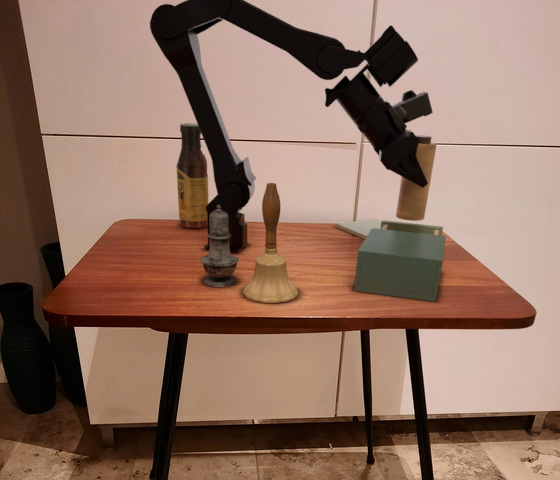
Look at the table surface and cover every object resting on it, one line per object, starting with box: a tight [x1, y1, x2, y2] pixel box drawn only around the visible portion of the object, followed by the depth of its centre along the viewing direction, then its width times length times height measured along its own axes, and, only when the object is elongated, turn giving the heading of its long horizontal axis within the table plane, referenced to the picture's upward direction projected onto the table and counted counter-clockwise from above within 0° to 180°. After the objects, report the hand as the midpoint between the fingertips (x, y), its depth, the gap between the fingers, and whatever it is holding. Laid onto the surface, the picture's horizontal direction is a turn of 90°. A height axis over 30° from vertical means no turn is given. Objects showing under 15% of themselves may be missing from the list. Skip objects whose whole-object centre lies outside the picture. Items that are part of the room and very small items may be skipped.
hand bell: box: [242, 182, 299, 304], centre depth 79 cm, size 8×8×16 cm
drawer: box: [381, 220, 444, 236], centre depth 99 cm, size 17×11×5 cm, turn 163°
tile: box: [335, 218, 382, 240], centre depth 117 cm, size 11×11×1 cm
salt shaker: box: [200, 204, 239, 288], centre depth 84 cm, size 6×6×12 cm
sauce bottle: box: [176, 122, 210, 229], centre depth 111 cm, size 7×6×20 cm
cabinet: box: [353, 228, 447, 303], centre depth 88 cm, size 14×12×6 cm
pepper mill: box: [395, 134, 438, 222], centre depth 94 cm, size 5×5×13 cm
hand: (423, 182), depth 94 cm, fingers closed on pepper mill, 5 cm apart
